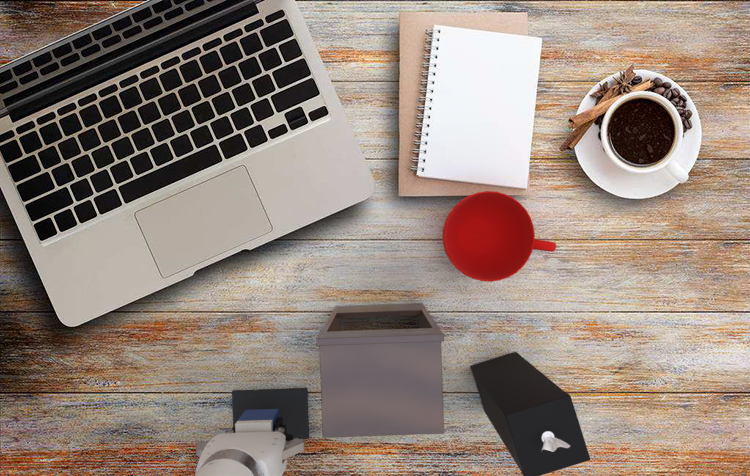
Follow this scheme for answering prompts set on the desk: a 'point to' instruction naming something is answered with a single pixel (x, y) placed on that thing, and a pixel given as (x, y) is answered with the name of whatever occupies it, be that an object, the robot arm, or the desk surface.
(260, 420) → the box
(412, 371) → the square planter pot
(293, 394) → the mat
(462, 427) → the desk surface
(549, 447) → the tissue box
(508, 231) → the ceramic cup
